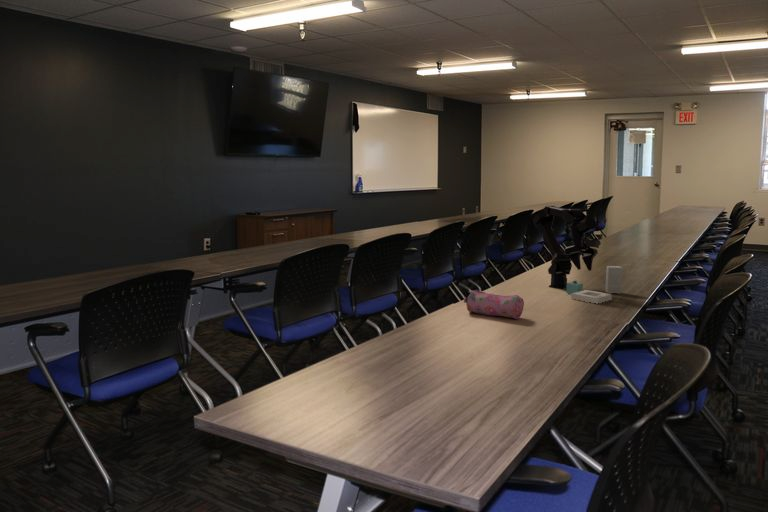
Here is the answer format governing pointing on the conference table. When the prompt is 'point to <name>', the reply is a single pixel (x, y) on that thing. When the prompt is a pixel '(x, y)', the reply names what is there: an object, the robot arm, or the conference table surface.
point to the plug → (574, 287)
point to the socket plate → (591, 296)
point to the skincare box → (613, 279)
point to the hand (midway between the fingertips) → (584, 270)
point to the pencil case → (494, 304)
